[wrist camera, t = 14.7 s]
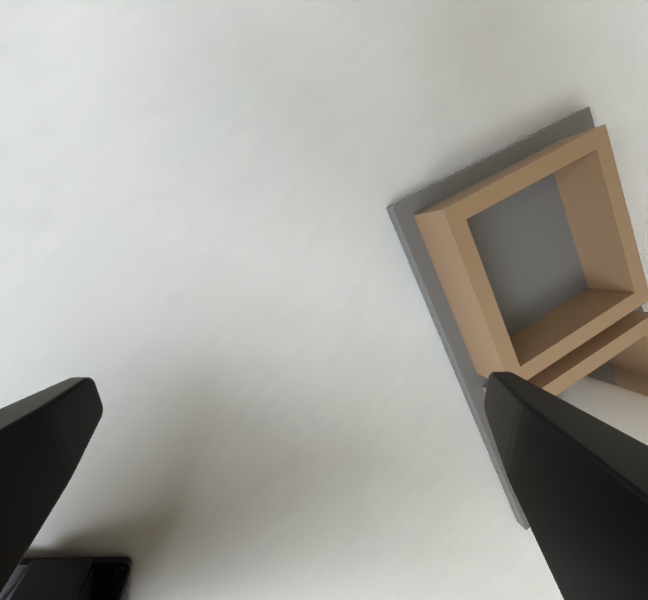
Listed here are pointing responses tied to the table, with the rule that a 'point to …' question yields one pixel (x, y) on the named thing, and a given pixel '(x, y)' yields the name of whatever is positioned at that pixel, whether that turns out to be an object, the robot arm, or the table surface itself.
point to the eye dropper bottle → (611, 405)
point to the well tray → (532, 268)
